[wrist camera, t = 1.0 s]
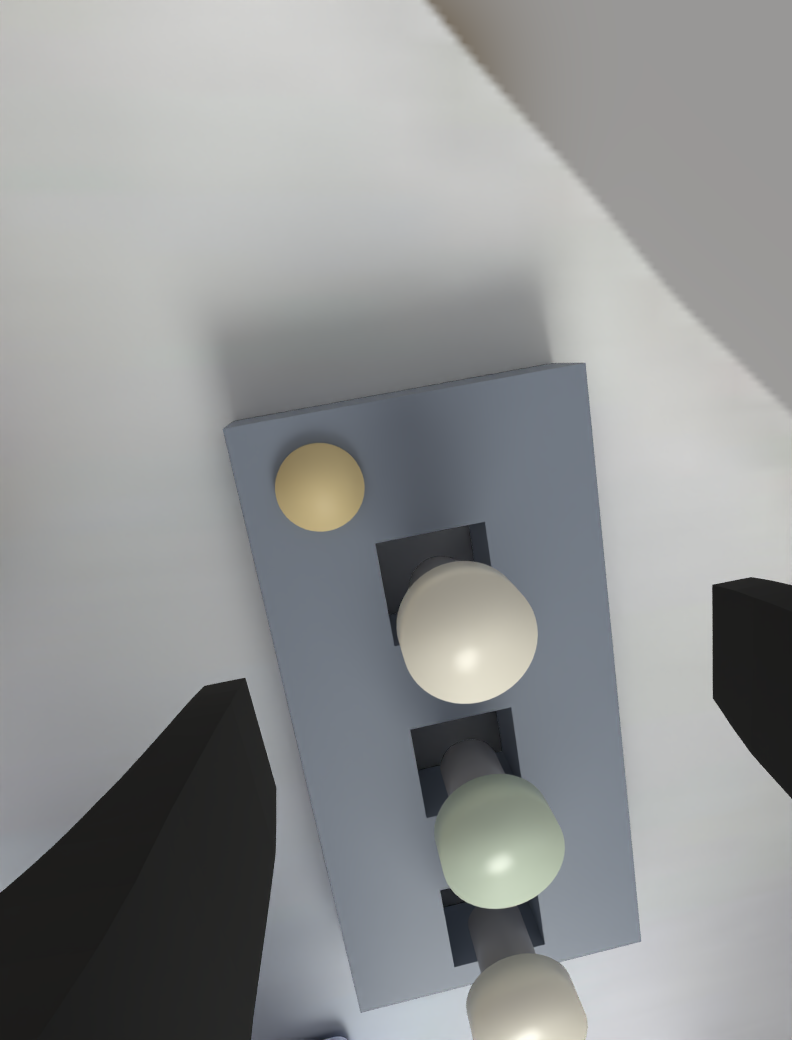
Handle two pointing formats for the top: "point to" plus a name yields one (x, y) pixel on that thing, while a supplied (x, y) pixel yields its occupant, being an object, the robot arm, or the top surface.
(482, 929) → the knob
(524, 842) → the knob middle
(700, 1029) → the top surface
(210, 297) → the top surface
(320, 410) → the console
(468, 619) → the knob
